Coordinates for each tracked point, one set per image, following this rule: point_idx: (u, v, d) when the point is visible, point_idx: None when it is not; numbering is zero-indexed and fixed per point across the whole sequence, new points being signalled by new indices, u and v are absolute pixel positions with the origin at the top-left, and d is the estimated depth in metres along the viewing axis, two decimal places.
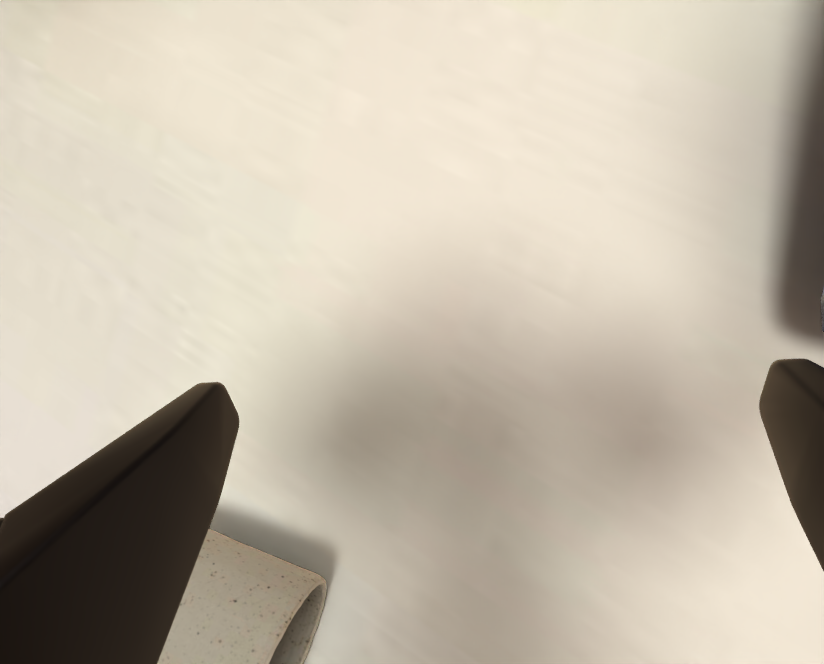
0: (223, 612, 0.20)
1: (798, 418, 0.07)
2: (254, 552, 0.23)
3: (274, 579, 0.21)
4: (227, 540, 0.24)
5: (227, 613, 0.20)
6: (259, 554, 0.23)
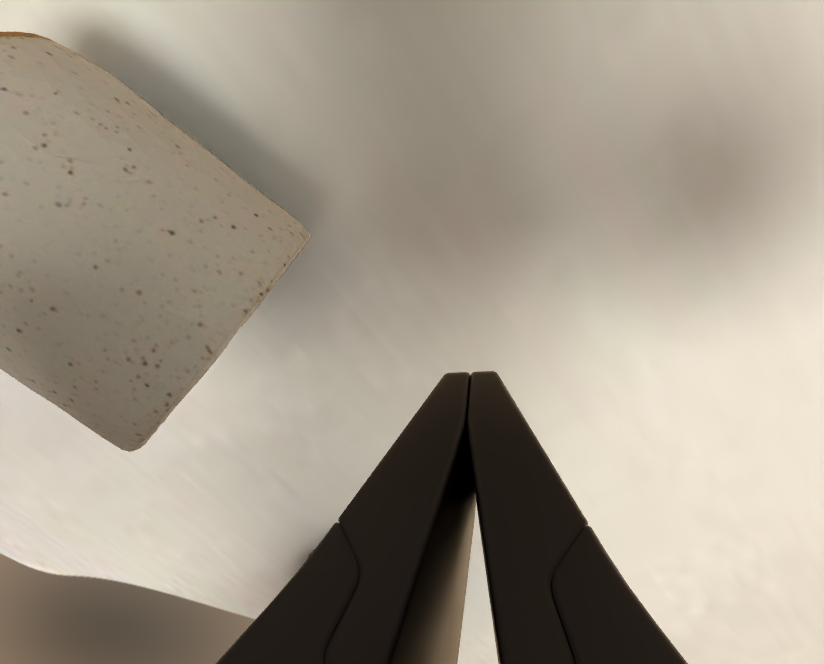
0: (148, 246, 0.11)
1: None
2: (204, 154, 0.13)
3: (242, 216, 0.12)
4: (153, 113, 0.13)
5: (155, 250, 0.11)
6: (213, 161, 0.13)
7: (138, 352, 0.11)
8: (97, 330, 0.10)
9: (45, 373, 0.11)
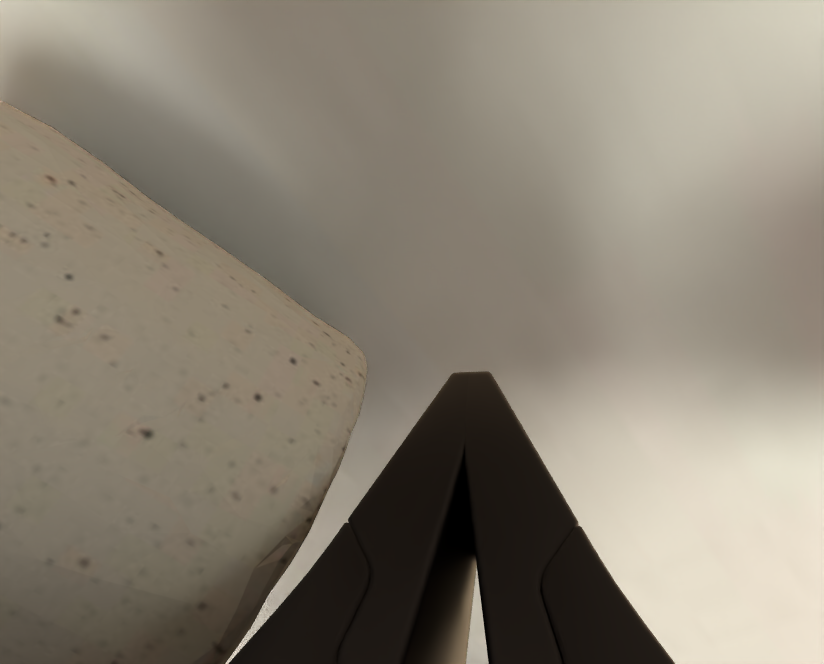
0: (101, 469, 0.06)
1: None
2: (205, 256, 0.08)
3: (271, 370, 0.07)
4: (120, 193, 0.08)
5: (115, 476, 0.06)
6: (220, 266, 0.08)
7: None
8: (2, 637, 0.05)
9: None
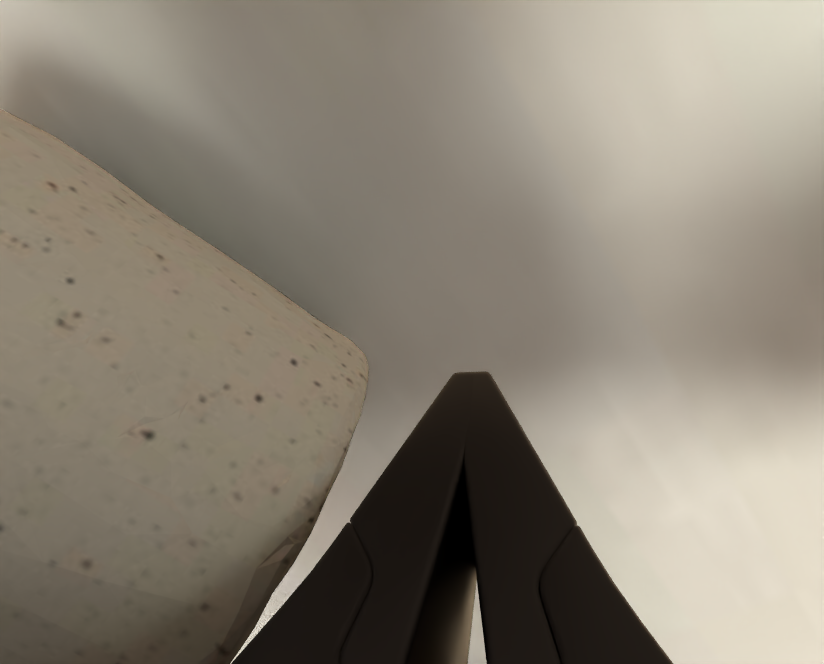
0: (103, 471, 0.06)
1: None
2: (205, 260, 0.08)
3: (272, 371, 0.07)
4: (120, 199, 0.08)
5: (117, 477, 0.06)
6: (220, 270, 0.08)
7: None
8: (7, 640, 0.05)
9: None
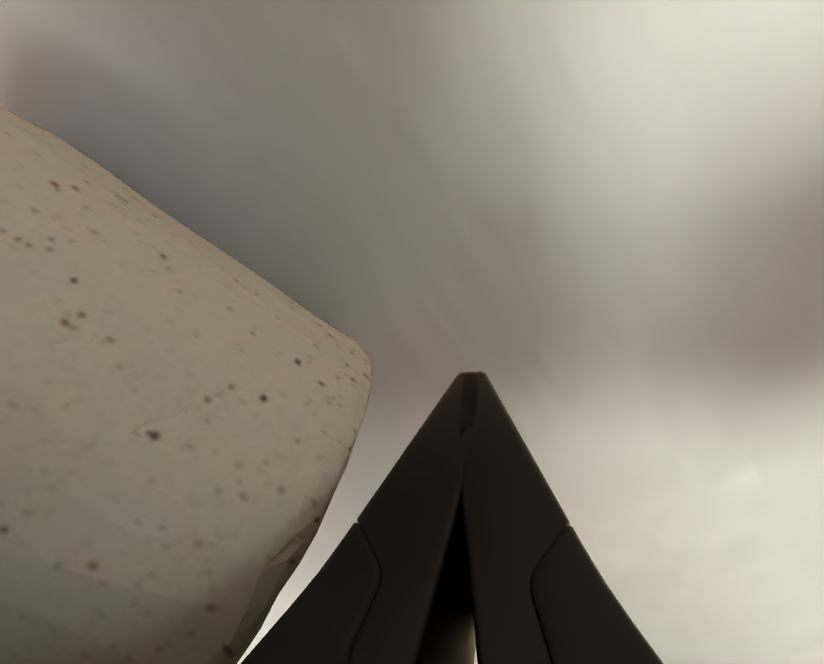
0: (108, 471, 0.06)
1: None
2: (208, 259, 0.08)
3: (276, 370, 0.07)
4: (123, 198, 0.08)
5: (123, 478, 0.06)
6: (223, 269, 0.08)
7: None
8: (12, 642, 0.05)
9: None
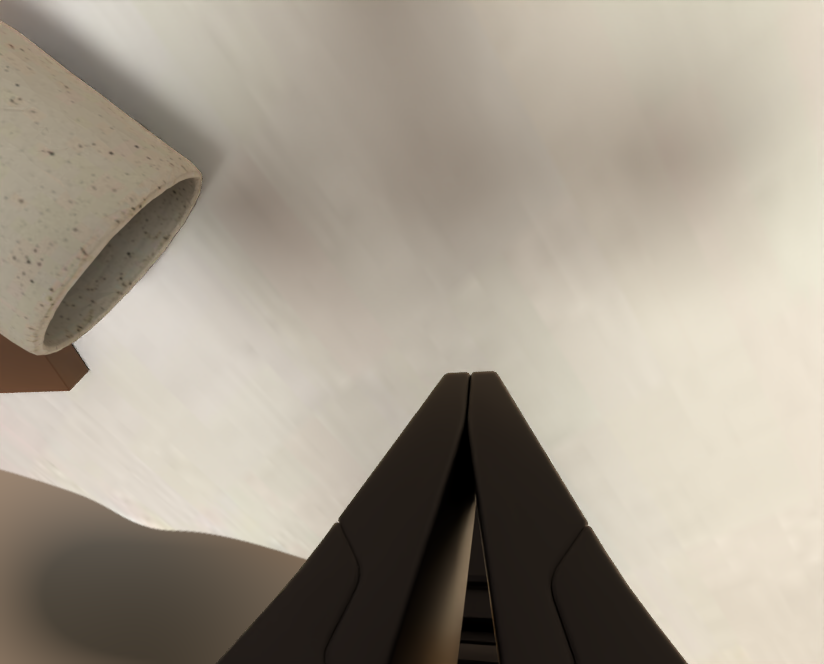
0: (29, 163, 0.13)
1: None
2: (95, 96, 0.15)
3: (121, 145, 0.14)
4: (49, 61, 0.15)
5: (35, 167, 0.13)
6: (103, 102, 0.15)
7: (22, 252, 0.13)
8: None
9: None
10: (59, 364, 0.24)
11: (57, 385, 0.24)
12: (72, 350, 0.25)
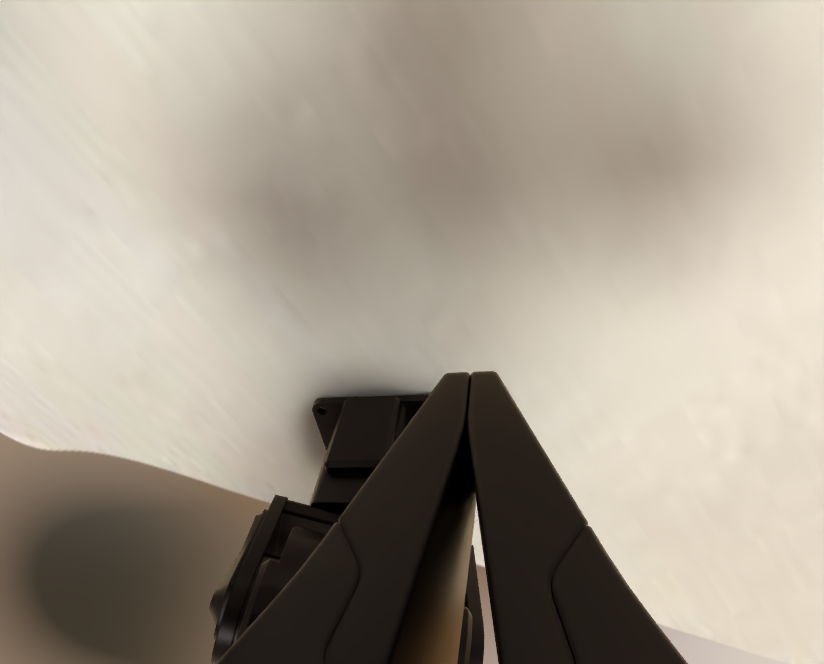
0: None
1: None
2: None
3: None
4: None
5: None
6: None
7: None
8: None
9: None
10: None
11: None
12: None
